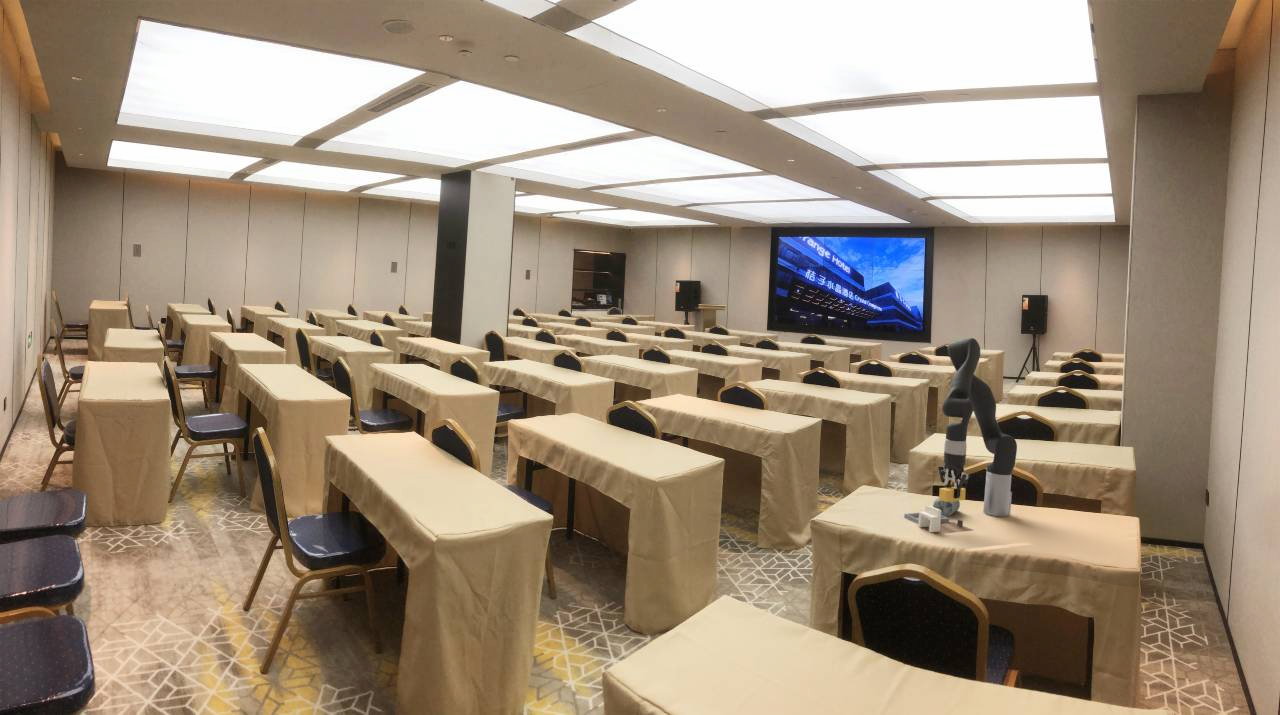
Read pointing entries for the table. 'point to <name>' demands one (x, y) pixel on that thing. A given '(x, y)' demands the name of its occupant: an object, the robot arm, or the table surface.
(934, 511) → the white stepped block
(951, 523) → the clamp board
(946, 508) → the streaked grey-blue ovoid
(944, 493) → the yellow rectangular block
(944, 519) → the tray
